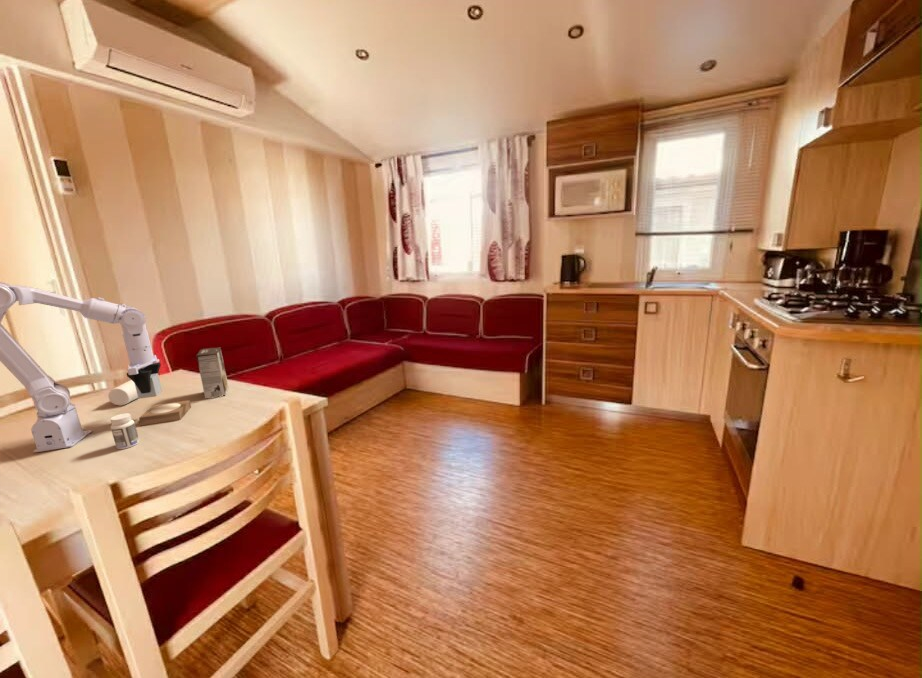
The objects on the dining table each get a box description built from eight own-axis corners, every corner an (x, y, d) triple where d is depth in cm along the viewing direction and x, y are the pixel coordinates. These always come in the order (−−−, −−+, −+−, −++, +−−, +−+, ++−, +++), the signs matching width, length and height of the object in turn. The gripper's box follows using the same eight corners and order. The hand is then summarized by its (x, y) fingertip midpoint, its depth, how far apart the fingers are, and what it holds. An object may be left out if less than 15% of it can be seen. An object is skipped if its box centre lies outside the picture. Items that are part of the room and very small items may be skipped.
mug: (134, 399, 126) (157, 386, 138) (119, 384, 125) (144, 372, 136) (109, 414, 127) (135, 400, 138) (94, 399, 125) (121, 386, 136)
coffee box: (209, 390, 138) (200, 349, 134) (229, 387, 140) (221, 346, 137) (204, 399, 130) (195, 355, 126) (225, 395, 132) (217, 352, 129)
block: (156, 396, 114) (151, 377, 112) (138, 398, 112) (133, 380, 111) (162, 391, 118) (157, 373, 117) (145, 393, 117) (140, 375, 115)
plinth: (180, 419, 114) (178, 411, 114) (141, 425, 111) (139, 417, 110) (191, 407, 123) (189, 399, 123) (155, 412, 120) (153, 404, 120)
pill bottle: (137, 438, 103) (130, 410, 101) (141, 444, 100) (134, 415, 98) (114, 446, 100) (106, 417, 98) (118, 451, 97) (110, 422, 95)
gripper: (144, 351, 106) (155, 396, 110) (164, 340, 119) (173, 380, 123) (113, 354, 104) (126, 400, 107) (137, 343, 117) (147, 383, 120)
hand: (149, 389), depth 115 cm, fingers closed on block, 4 cm apart
